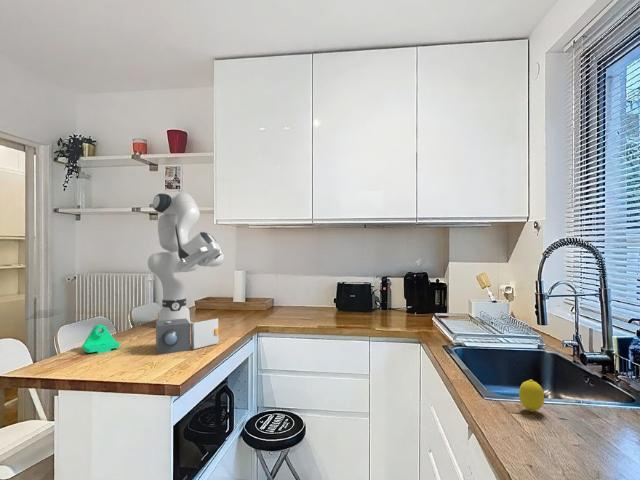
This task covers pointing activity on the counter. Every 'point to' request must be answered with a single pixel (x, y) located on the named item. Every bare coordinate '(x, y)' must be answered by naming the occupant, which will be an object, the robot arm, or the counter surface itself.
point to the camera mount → (100, 341)
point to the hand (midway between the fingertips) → (190, 255)
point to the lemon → (531, 395)
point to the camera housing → (172, 336)
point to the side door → (204, 333)
